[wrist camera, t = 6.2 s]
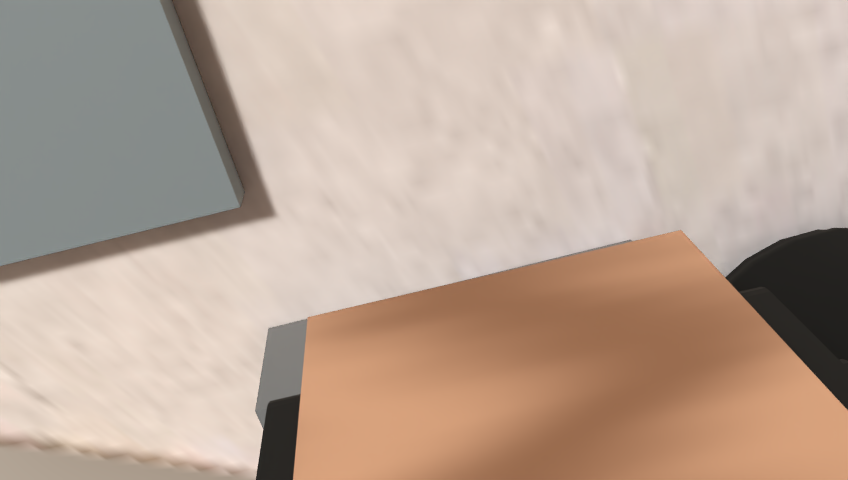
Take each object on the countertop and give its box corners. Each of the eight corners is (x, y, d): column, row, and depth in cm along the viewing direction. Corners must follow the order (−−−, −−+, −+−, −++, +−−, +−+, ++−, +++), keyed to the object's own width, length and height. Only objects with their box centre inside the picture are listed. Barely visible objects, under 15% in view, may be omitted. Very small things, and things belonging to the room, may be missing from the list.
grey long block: (630, 240, 25) (685, 305, 21) (636, 319, 27) (688, 394, 23) (268, 328, 25) (255, 411, 21) (298, 402, 27) (291, 490, 23)
